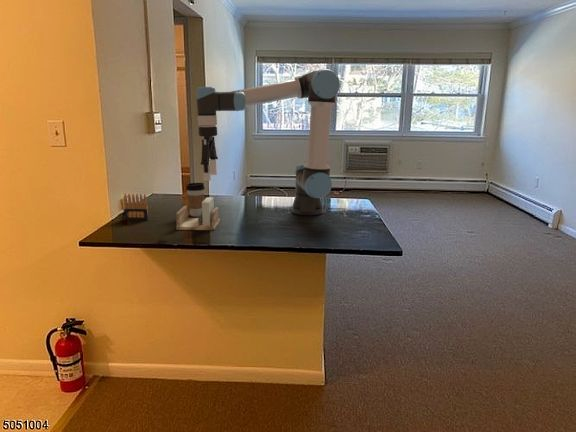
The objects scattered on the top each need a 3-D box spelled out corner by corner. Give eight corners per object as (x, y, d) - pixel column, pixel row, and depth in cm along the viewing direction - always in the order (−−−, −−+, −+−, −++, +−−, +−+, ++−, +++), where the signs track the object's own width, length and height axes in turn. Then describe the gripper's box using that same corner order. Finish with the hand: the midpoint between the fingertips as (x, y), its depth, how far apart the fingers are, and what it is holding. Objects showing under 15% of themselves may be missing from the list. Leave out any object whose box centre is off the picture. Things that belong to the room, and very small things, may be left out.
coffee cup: (201, 217, 202) (200, 185, 198) (184, 216, 204) (182, 184, 200) (208, 213, 210) (207, 182, 206) (191, 212, 212) (190, 181, 208)
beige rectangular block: (214, 219, 195) (213, 197, 192) (209, 225, 185) (208, 202, 183) (207, 219, 195) (206, 197, 192) (202, 225, 185) (201, 202, 183)
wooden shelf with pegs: (220, 220, 197) (219, 205, 195) (214, 230, 184) (213, 213, 182) (184, 220, 198) (184, 205, 196) (176, 229, 184) (175, 213, 182)
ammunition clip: (149, 219, 200) (147, 193, 197) (148, 220, 198) (146, 194, 195) (126, 218, 200) (123, 192, 197) (124, 219, 198) (122, 193, 195)
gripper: (204, 124, 193) (207, 172, 198) (191, 128, 169) (194, 183, 174) (221, 124, 192) (224, 172, 198) (210, 128, 168) (213, 183, 174)
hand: (210, 177), depth 186 cm, fingers open, 13 cm apart
